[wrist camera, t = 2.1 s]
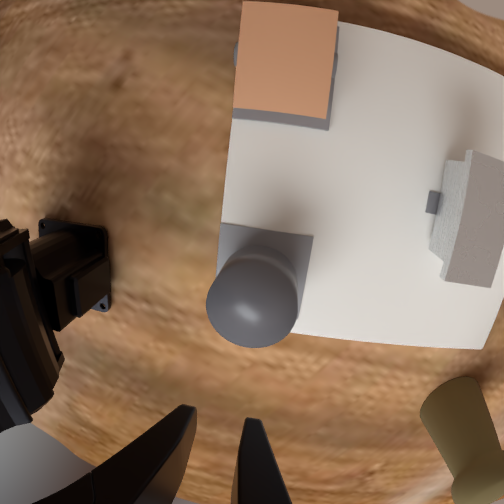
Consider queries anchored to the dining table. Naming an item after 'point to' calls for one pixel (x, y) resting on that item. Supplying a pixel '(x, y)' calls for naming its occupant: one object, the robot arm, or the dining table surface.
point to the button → (254, 297)
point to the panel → (369, 192)
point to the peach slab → (285, 58)
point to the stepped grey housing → (470, 220)
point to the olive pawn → (466, 440)
